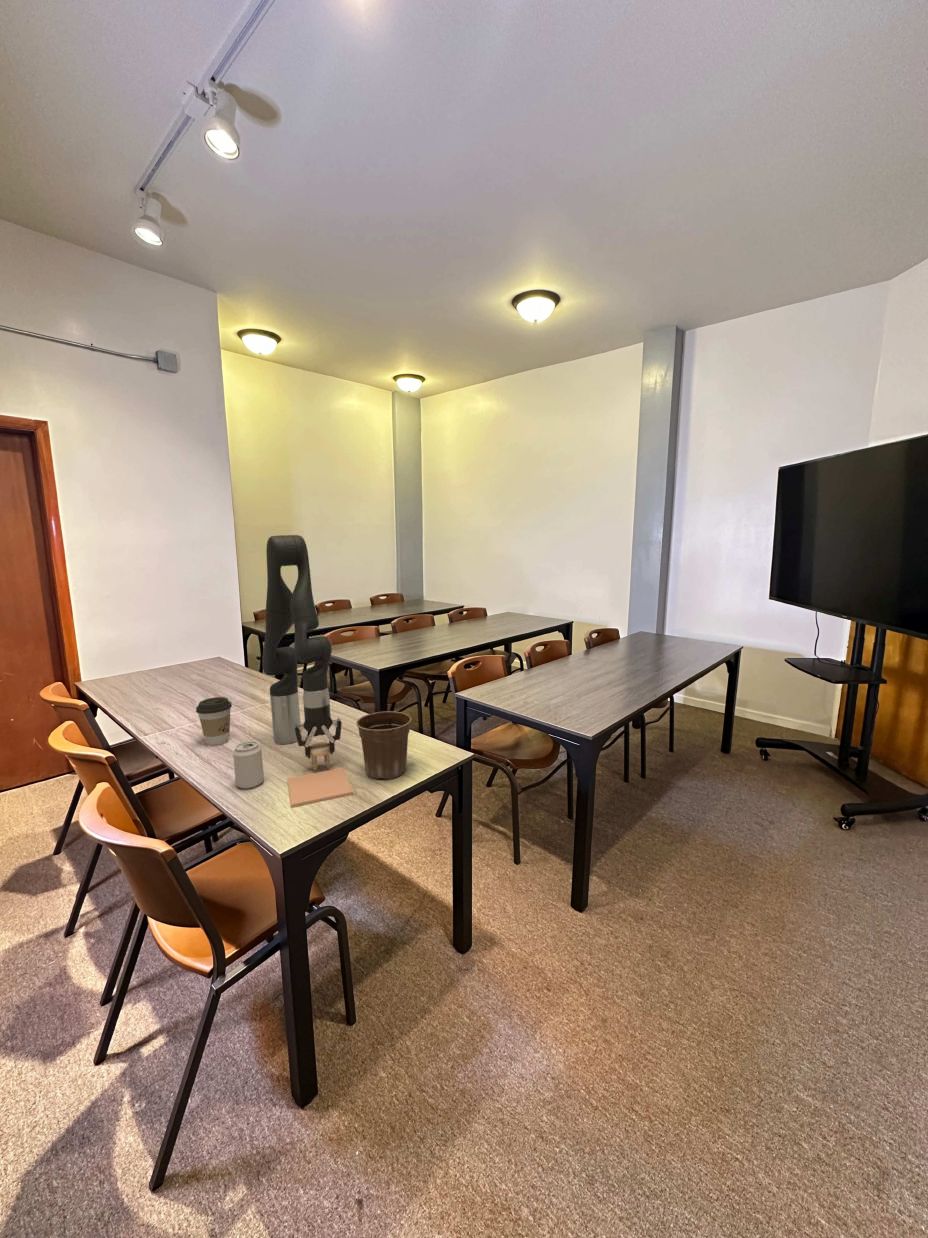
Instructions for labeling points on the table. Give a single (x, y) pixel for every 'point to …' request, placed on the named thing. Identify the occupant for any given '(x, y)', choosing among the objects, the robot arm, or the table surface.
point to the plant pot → (384, 743)
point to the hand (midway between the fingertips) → (320, 755)
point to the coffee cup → (215, 720)
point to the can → (248, 764)
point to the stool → (320, 753)
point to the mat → (318, 787)
